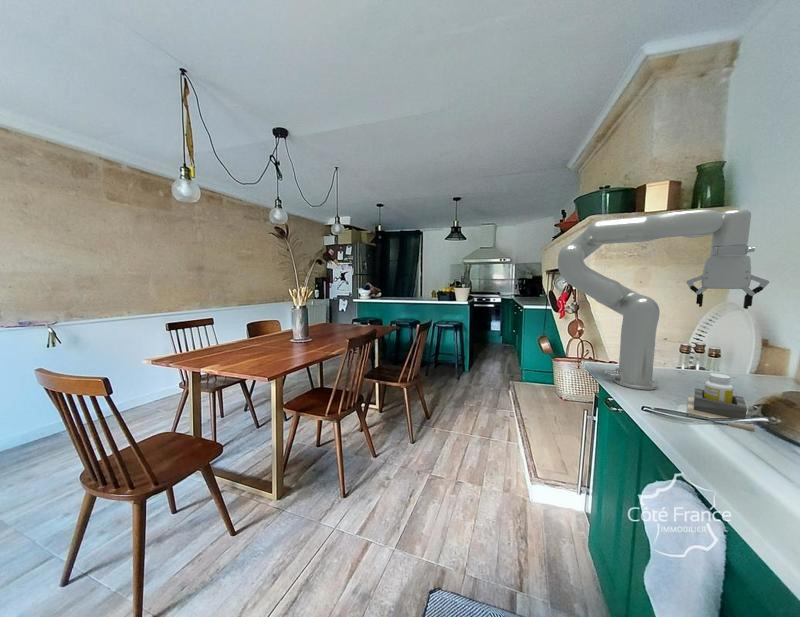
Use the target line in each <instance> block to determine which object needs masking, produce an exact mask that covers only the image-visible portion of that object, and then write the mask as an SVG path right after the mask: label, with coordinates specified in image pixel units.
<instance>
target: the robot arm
mask: <svg viewBox="0 0 800 617" xmlns="http://www.w3.org/2000/svg"><path fill="white" fill-rule="evenodd" d="M751 219H752V213H751V211H750V210H748V209H731V210H726V211H722V212H721V211H718V210H713V209H709V208H708V209H695V210H684V211H674V212H668V213H660V214H659V213H658V214H649V215H643V216H631V217H620V218H609V219H601V220H600V219H598V220H596V221H593V222H591V223H590V224H589V225H587V228H586V229H584V231H582V233H580V234H579V235H578V236H577V237H576V238H575V239H573V240H572V241H571V242H570V243H568V244H565V245H564V246H562V248H560V250H559V252H558V255H557V268H558V271H559V274H560V276H561V278H562V279H563V280H564V281H565V282H566V283H567V284H568V285H570V286H572V287H573V288H575V289H576V290H578V291H579V292H581V293H583V294H585V295H586V296H588V297H590V298H592V299H594V301H596V302H597V303H598V304H601V305H603V306H605V307H606V308H608V309H610V310H612V311H614V312H616V313H618V314H619V315H621V316H622V322H621V328H620V329H621V330H620V346H619V358H618V360H619V361H618V367H615V369H612V370H609V369H608V370H607V369H603V370H602V375H603V376H608V377H610V378H612V381H613V382H614V383H615V384H617V385H619V386H623V387H625V388H629V389H636V390H641V391H642V390H643V391H644V390H645V391H646V390H647V391H651V390H656V389H658V386H659V385H658V383H657V382H656V381H654V380H653V374H654V372H653V371H654V364H655V362H654V361H655V348H656V337H657V336H656V335H657V329H658V323H659V320H660V315H661V314H660V313H661V312H660V311H661V310H660V307H659V304H658V303H657V302H656V300H654V299H653V298H651V297H650V296H647V295H643V294H640V293H639V292H637V291H634V290H632V289H631V288H629V287H627V286H625V285H623V284H622V283H620V282H619V281H617V280H614V279H612V278H609V277H607V276H605V275H604V274H601V273H599V272H597V271H596V270H594V269H592V268H590V267H589V266H588V265H586V263H585V259H586V258H588V257H590V256H591V255H592V254H593V253H595V252H596V251H597V250H598V249H599V248H600V247H602V246H603V245H611V244H629V243H631V244H632V243H643V242H650V241H655V240H658V239H666V238H667V239H668V238H676V237H678V238H679V237H683V238H686V239H698V238H703V237H711V236H712V237H711V247H710V256H708V257H706V259H705V261H704V265H703V269H702V275H698V276H697V277H696V276H695V277H693V278H691V279H687V280H686V284H687V285H688V287H689V289H690V290H691V291H692V292H694V293H695V294H696V301H695V302H696V303H695V304H696V305H698V307H699V308H700V307H701V308H702V307H703V303H704V301H703V300H704V292H705V291H706V290H708V289H710V290H711V289H713V290H742V291H744V292H745V295H744V297H743V298H744V299H743V307H742V308H743V309H745V310H749V307H752V305H753V298H754V296H755V295H756V294H758V293H761V291H763V290H764V289H765V288H766V286H768V285H769V284H770V281H769V280H768V279H764V278H761V277H758V276H756V275H753V274H752V265H751V264H752V262H751V260H752V259H751V256H749V255H747V254H748V253H753V252H755V250H756V246H750V245H748V244H749V236H750V229H751ZM751 280H752V281H754V282H756V283H757V282H758V283H759V284H758V286H756V287H755V288H753V289H751V288H750V286H751V282H752V281H751ZM699 281H701V287H700V288H697V287H696V286H695V285H694V283H695V282H699Z"/></svg>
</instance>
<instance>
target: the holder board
mask: <svg viewBox="0 0 800 617" xmlns="http://www.w3.org/2000/svg"><path fill="white" fill-rule="evenodd" d="M687 396H688V397H687V409H686V410H687V412H686V415H687V414H689V415H695V416H700V417H708V418H742V419H746V414H747V412H748V411H749V409H748V406H747V405H746V401H745V399H744V397H743V396H738V395H734V394H733V395H732V404H731V403H726V402H721V401H716V400H711V399H706V398H704V389H701V388H695V389H694V395H687ZM726 422H729V421H726ZM728 425H729V427H734V428H737V429H740V430H741V429H742V430H746V431H751V432H755V426H754V423H753V424H745V423H734V422H729V424H728ZM728 425H727V426H728Z"/></svg>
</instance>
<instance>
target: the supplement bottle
mask: <svg viewBox="0 0 800 617" xmlns="http://www.w3.org/2000/svg"><path fill="white" fill-rule="evenodd" d="M730 383H731V376H730V375H726V374H724V373H716V372H715V373H712V372H711V373H709V380H706V381H705V384H704V389H703V390H704V398H706V399H711V400H716V401H721V402H726V403H731V404H732V395H734V387H733V385H731V384H730Z"/></svg>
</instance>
